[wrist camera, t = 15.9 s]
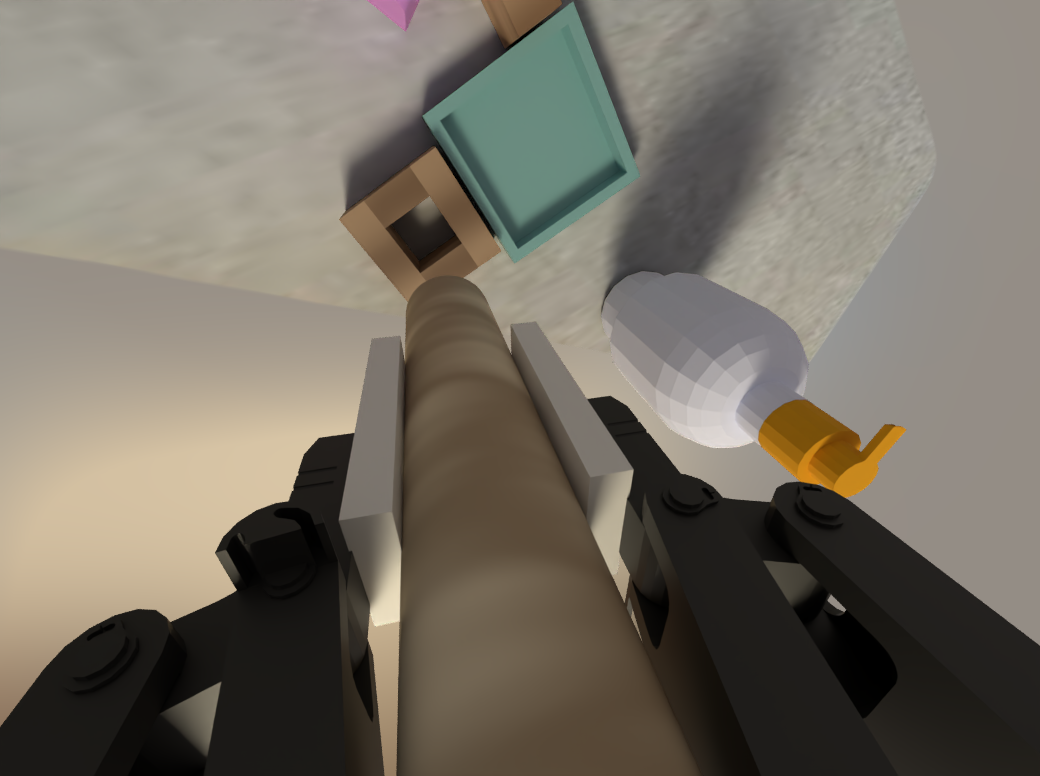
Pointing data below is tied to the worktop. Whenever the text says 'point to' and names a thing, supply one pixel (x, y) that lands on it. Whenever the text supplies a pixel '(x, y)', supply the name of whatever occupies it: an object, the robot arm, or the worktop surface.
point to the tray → (536, 136)
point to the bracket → (397, 10)
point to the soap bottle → (731, 377)
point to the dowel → (507, 580)
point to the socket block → (400, 196)
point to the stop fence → (517, 16)
